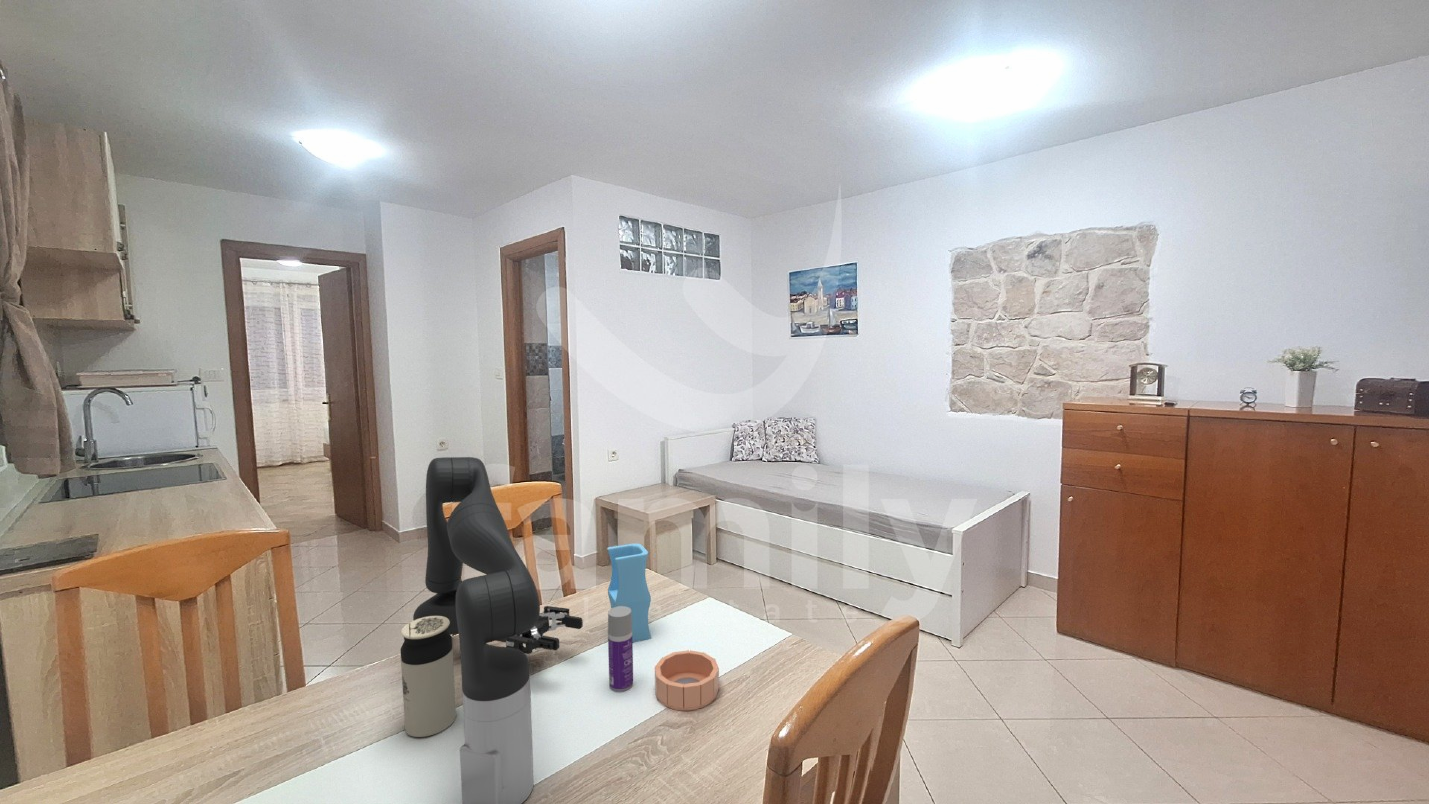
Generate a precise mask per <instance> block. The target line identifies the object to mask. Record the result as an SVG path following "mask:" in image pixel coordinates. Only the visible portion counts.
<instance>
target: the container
mask: <svg viewBox="0 0 1429 804" xmlns="http://www.w3.org/2000/svg"><path fill="white" fill-rule="evenodd" d="M607 616H608V617H607V647H608V650H607V651H608V683H609V684H608V685H609V689H610V690H611V691H613V692H618V693H620V692H621V693H622V692H626V691H629V690H630V689H632V687H633V686H634V656H633V655H634V653H633V651H634V650H633V648H634V647H633V640H632V616H631V609H630V608H629V607H625V606H618V607H614V608H612V609H611V608H610V609H609V610H608V612H607Z"/></svg>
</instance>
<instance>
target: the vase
mask: <svg viewBox="0 0 1429 804" xmlns="http://www.w3.org/2000/svg"><path fill="white" fill-rule="evenodd" d="M607 552H608V555H609V558H610V559H609V560H610V564H611V576H610V581H609V584H608V588H607V595H608V599H609V603H610V609H612V608H614V607H618V606H625V607H629V608H630V609H631V616H632V640H633V643H637V642H642V641H646V640H651V639H652V635H651V631H650V627H649V609H650V606H651V602H652V598H651V597H652V595H651V593H650V590H649V587H648V583H647V578H646V568H647V560H648V557H649V556H648V555H649V551H648V550H647V549H646V548H645V547H644V546H643V545H642V544H641V543H635V542H634V543H629V544H621V545H617V546H615V545H614V546H610V547H607Z"/></svg>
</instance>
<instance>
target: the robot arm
mask: <svg viewBox="0 0 1429 804" xmlns="http://www.w3.org/2000/svg"><path fill="white" fill-rule="evenodd" d="M446 503H447V504H448V503H458V504H457V505H456V506H455V507H454V508H453V510H452V512H451V513H450V515H449V517H448V520H447V518H446V517H445V514H444V509H443V507H444V506H443V504H446ZM425 510H426V511H425V517H426V519H425V520H426V534H427V535H426V536H427V558H426V559H427V560H426V568H425V580H424V583H425V586H426V589H427V590H428V591H429V592H430V593H432V594H433V593H434V594H435V595H433V596H431V597H430V598H428V599H426V600H425V601H423V602H422V603H420V604H419V606H417V608H416V609H415V611H414V612H413V616H412V621H414V620H417V619H420V618H423V617H428V616H443V617H446V618H448V619H449V621H450V624H449V626H448V630H447V631H448V632H449V634H450V635H451V636H452V635H458V638H459V639H458V640H459V649H460V650H459V653H460V668H461V669H460V670H461V672H460V673H461V692H462V693H461V694H462V708H463V709H462V711H463V712H462V715H463V716H462V717H463V731H464V733H463V736H464V743H463V745H462V746H461V747H460V748H459V761H460V763H459V765H460V781H461V783H460V784H461V800H462V802H461V803H462V804H523V803H524V802H525V801H526V800H527V799H528V798H529V796H530V795H531V792H532V791H533V788H534V785H535V781H534V775H535V774H534V753H533V727H532V726H533V725H532V723H533V721H532V702H531V701H532V697H531V693H532V692H531V673H530V672H531V670H530V660H529V658H528V655H530V654H532V653H533V650H537V651H538V650H540V649H543V650H549V651H558V650H559V649H560V639H559V638H558V637H554V636H548V635H544V634H545V633H547V632H552V631H555V630H557V628H563V627H566V628H571V629H577V630H580V629H582V628H583V626H584V625H583V624H584V623H583V621H584V620H583V618H582V617H581V616H580V617H579V616H573V615H570V608H567V607H559V606H552V605H545V606H543V611H542V612H541V603H540V599H539V592H538V590H537V586H536V584H535V581H534V579H533V577H532V575H531V573H530V571H529V569H528V568H527V566H526V564H525V563H524V561H523V560H522V557H520V555H519V553H518V551H517V550H516V547H515V545H514V543H513V541H512V538H511V535H510V533H509V529H508V527H507V524H506V522H505V519H504V517H503V514H502V513H501V511H500V508H499V507H498V505H497V502H496V499H495V497H494V495H493V492H492V488H491V484H490V480H489V477H488V472H487V467H486V466H485V464H484V462H483V461H482V460H481V459H480V458H478V457H470V456H468V457H466V456H461V457H460V456H456V457H454V456H453V457H452V456H451V457H450V456H449V457H448V456H447V457H445V456H444V457H443V456H442V457H436V458H433V459H431V461H430V462H429V464H428V467H427V470H426V478H425ZM463 565H466V566H467V567H469V568H471V569H473V570H474V571H475V570H476V571H478V572H480V573H482V574H483V575H479V576H473V577H470V578H466V579H464V580H462V574H463ZM550 621H551V625H550ZM491 642H500V643H505V646H497V645H492V644H489V643H491ZM524 645H525V646H524Z"/></svg>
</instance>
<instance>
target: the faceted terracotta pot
mask: <svg viewBox="0 0 1429 804" xmlns="http://www.w3.org/2000/svg"><path fill="white" fill-rule="evenodd" d="M719 672H720V667H719V665H718V663H717V661H716V659H715V658H714V657H712V656H711V655H709V654H707V653H706V652H704V651H703V652H702V651H695V650H691V649H690V650H689V649H688V650H681V651H674V652H672V653H669V654H667V655H665V656H662V657H661V658H660V659H659V660H658V661H657V663H656V665H655V666H654V690H655V696H656V699H657V701H658V702H659V703H660V704H661V705H663V706H664V707H667V708H668V709H671V710H675V711H680V712H688V711H689V712H690V711H695V710H699V709H702V708H705V707H707V706H709V705H710V704H711V703H713V702H714V700H715V699H716V698H717V696H718V693H719V692H718V691H719V689H720V673H719Z"/></svg>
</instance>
